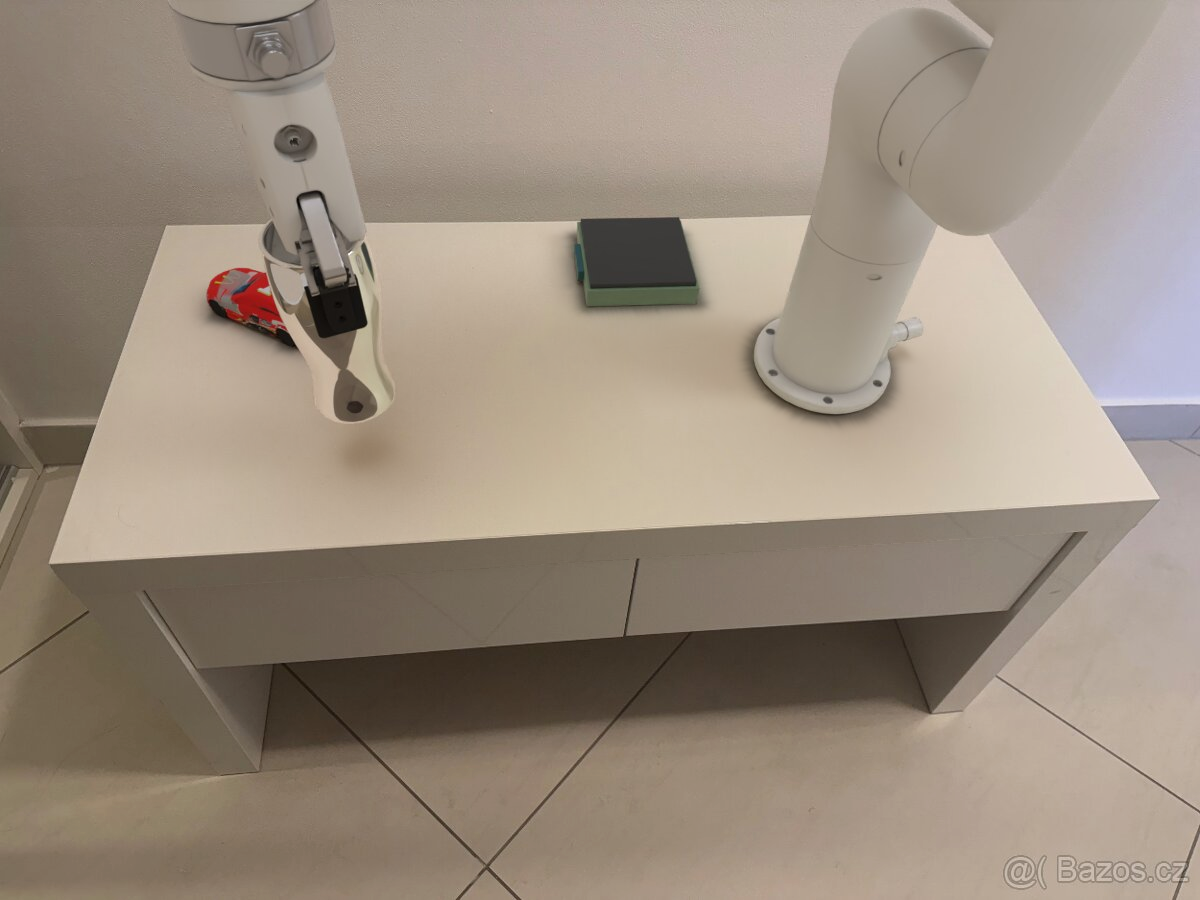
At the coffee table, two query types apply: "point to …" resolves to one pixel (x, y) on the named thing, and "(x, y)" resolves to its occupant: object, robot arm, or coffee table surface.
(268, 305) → the race car
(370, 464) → the coffee table surface
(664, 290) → the scale
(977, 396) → the coffee table surface
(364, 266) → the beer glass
